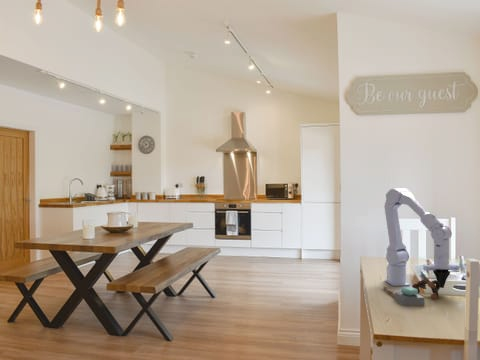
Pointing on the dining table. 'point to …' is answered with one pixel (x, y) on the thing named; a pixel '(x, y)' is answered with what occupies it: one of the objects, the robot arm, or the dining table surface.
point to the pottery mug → (431, 284)
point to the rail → (389, 291)
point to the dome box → (409, 299)
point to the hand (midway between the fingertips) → (441, 287)
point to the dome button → (409, 291)
